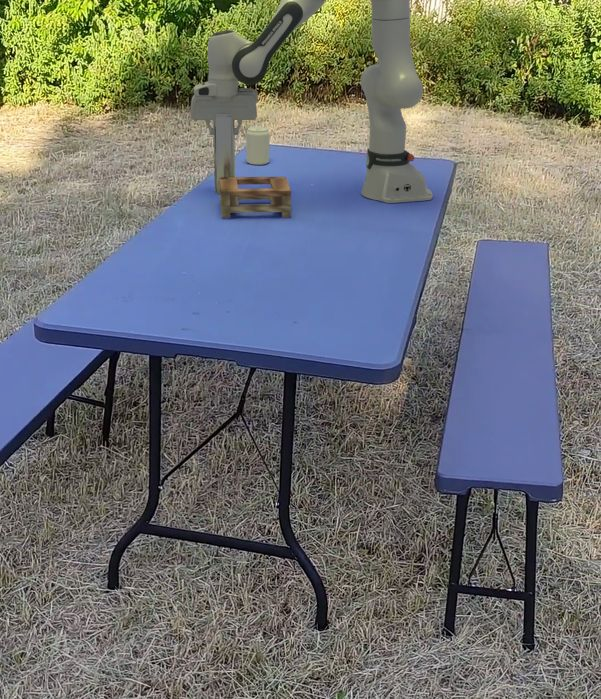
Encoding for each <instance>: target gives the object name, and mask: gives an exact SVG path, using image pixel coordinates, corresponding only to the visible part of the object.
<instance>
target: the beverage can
mask: <svg viewBox="0 0 601 699" xmlns="http://www.w3.org/2000/svg"><path fill="white" fill-rule="evenodd" d="M245 136H246V138H245V139H246V140H245V142H246V144H245V145H246V151H245V152H246V163H249V164H250V165H251V166H252V165H253V166H263V165H266V164H268V163H269V162H270V131H269V128H268V127H264V126H251V127H248V128H247V131H246V134H245Z"/></svg>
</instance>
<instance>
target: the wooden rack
mask: <svg viewBox="0 0 601 699" xmlns="http://www.w3.org/2000/svg"><path fill="white" fill-rule="evenodd" d="M219 179H220V195H219V205H220V213H221V214H220V215H221V216H222V217H221V219H222V218H228V219H231V214H234V213H235V214H237V213H238V214H240V213H241V214H243V213H281V218H283V219H284V218H285V219H286V218H290V219H291V215H292V190H291V187H290V183H289V181H288V179H287V176H235V177H219ZM239 185H240V186H242V185H243V186H244V185H270V186H269V187H270V188H239ZM250 200H251V201H252V200H255V201H258V200H259V201H260V200H261V201H263V200H269V201H270V203H269V204H268V203H265V204H263V203H262V204H253V203H252V204H239V201H250Z"/></svg>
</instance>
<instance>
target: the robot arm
mask: <svg viewBox="0 0 601 699" xmlns="http://www.w3.org/2000/svg"><path fill="white" fill-rule="evenodd" d="M326 2H327V0H280V2H279V5H278V7H277V10H276V12H275V14H274V16H273V18H271V20H270V22H269V23H268V24H267V25H266V27H265V28H264V29H263V31H262V32H261V33H260V34H259V36H258V37H257V39H255V41H251V40H248V39H247V38H244V37H243V36H241V35H239V34H238V33H237V32H235V31H234V30H232V29H226V30H220V31H218V32H214V33H213V34H211V35H210V37H209V38H208V41H207V42H208V43H207V64H208V68H209V70H208V71H209V72H208V76H207V78H208V79H207V80H208V81H205V82H202V83H198V84H196V85H195V86H194V87H193V93H194V94H193V95H192V98H191V101H190V110H189V111H190V115H189V116H190V118H191V119H192V121H205V125H206V126H207V128H208V129H209V135H210V136H214V135H215V133H214V129H213V127H212V126H211V125H210V124H211V121H213V120H215V117H216V113H231V116H233V120H235V121H236V122H237V125H236V127H235V129H234V135H235V136H239V134H240V132H239V131H240V129H241V126H242V125H243V121H255V120H257V117H258V109H257V103H258V101H259V94H258V91H257V90H256V89H254V88H253V87H248V88H247V87H246V88H245V87H239V82H240V83H241V84H244V85H250V86H252V85H256V84H260V82H261V81H263V79H264V78H265V77H266V74H267V72H268V68H269V64H270V62H271V59H272V58H273V56H274V55H275V53H276V52H277V51H278V49H280V48H281V46H282V45H283V43H284V42H285V41H286V40H287V39H288V38H289V36H290V35H291V34H292V33H293V32H294V31H295V30H296V29H297V28H298V27H300V26H301V25H302V24H304V23H305V22H307V21H308V20H309V19H310V18H311V17H313V15H314V14H316V13H317V11H318V10H320V9H321V8H322V6H323V5H324V4H325V3H326ZM370 4H371V46H372V49H373V52H374V53H375V55H376V58H377V61H378V63H376V64H371V65H369V66H367V67H366V68H365V69H364V71H363V72H362V73H361V76H360V87H361V89H362V91H363V93H364V96H365V100H366V105H367V111H368V118H369V140H368V141H369V145H368V149H367V152H366V153H367V154H366V160H365V163H366V168H367V169H366V172H365V173H366V174H365V178H364V183H363V187H362V190H361V192H360V194H361V196H363V197H365V198H367V199H370V200H374V201H379V202H384V203H387V204H394V203H395V204H398V203H409V202H423V201H431V200H433V196H434V195H433V192H432V190H431V189H430V188H428V187H427V181H426V178H425V175H424V174H423V173H422V172H421V171H420V170H419V169H417V167H415V166H414V165H413V164H412V163H410V162H413V161H414V160H415V156H414V155H413V153H410V151H407V150H405V148H406V135H407V134H406V133H407V125H406V121H405V119H404V117H403V114H402V110H403V109H404V110H405V109H411V108H413V107H415V106H416V105H418V103H419V102H420V101H421V99H422V97H423V93H424V86H423V82H422V81H421V79H420V78H419V77H420V76H419V75H418V74H417V70H416V67H415V63H414V58H413V53H412V47H411V4H410V0H370ZM401 109H402V110H401Z"/></svg>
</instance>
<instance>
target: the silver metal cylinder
mask: <svg viewBox="0 0 601 699" xmlns="http://www.w3.org/2000/svg"><path fill="white" fill-rule="evenodd" d="M235 121H236V120H233V116H231V113H216V117H215V120H212V122H213V123H212V124H213V125H212V126H213V127H212V128H213V129H214V133H215V135H213V164H214V165H213V167H214V169H213V171H214V176H213V177H214V193H215V194H216V195H219V194H220V179H219V177H236V138H235V137H236V135H234V129H235V128H236V127H235V123H236V122H235Z"/></svg>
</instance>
